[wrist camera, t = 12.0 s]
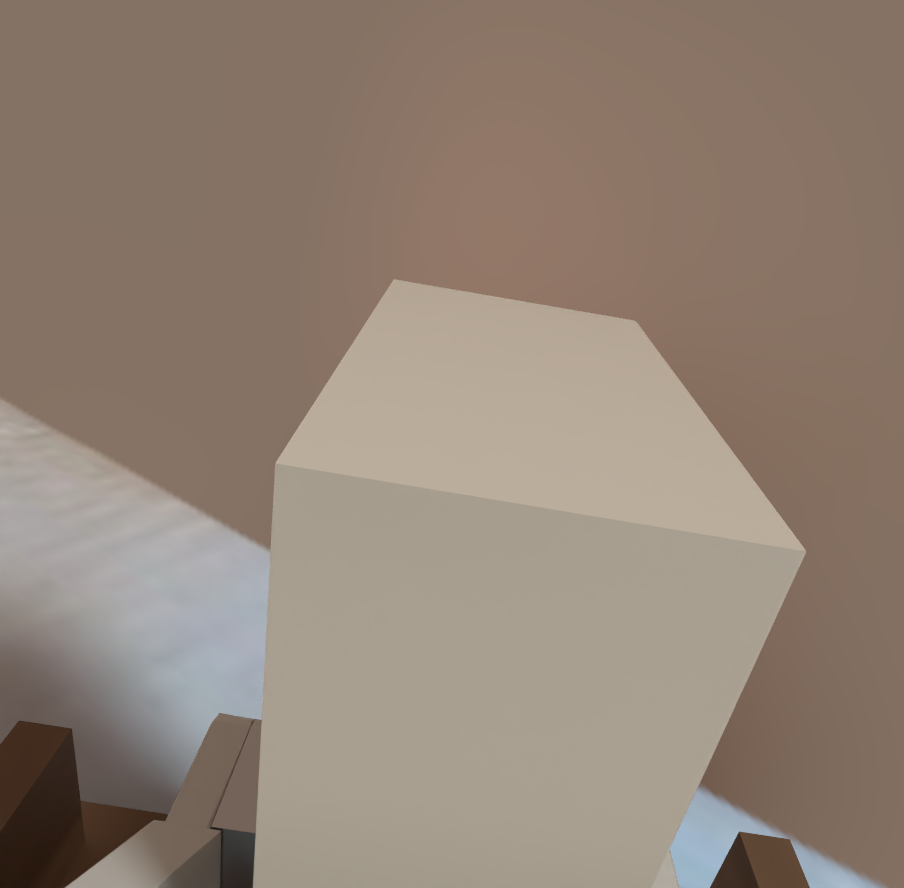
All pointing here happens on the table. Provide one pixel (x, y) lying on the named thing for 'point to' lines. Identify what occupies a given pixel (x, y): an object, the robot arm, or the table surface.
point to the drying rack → (107, 827)
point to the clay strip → (502, 605)
